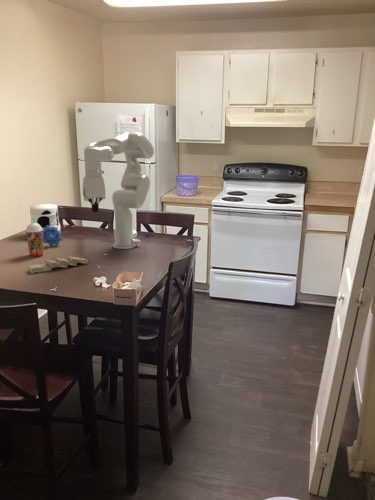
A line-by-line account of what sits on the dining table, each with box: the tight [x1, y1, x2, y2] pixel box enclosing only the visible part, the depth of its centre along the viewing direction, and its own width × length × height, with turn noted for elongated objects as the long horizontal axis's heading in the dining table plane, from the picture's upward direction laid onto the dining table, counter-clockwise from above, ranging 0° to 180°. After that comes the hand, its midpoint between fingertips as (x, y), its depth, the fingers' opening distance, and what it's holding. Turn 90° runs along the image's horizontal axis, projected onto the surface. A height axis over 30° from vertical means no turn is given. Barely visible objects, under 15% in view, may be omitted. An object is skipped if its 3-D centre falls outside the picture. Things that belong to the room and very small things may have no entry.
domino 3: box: [44, 259, 69, 269], centre depth 206 cm, size 2×5×9 cm
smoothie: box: [25, 217, 44, 258], centre depth 223 cm, size 8×8×20 cm
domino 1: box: [28, 262, 52, 273], centre depth 203 cm, size 2×5×9 cm
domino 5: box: [66, 256, 89, 265], centre depth 212 cm, size 2×5×9 cm
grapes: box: [42, 225, 63, 247], centre depth 239 cm, size 12×7×12 cm, turn 107°
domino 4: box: [54, 257, 78, 267], centre depth 209 cm, size 2×5×9 cm
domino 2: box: [28, 268, 52, 274], centre depth 204 cm, size 2×5×9 cm
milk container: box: [29, 203, 61, 232], centre depth 261 cm, size 17×17×18 cm
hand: (95, 211), depth 212 cm, fingers closed
